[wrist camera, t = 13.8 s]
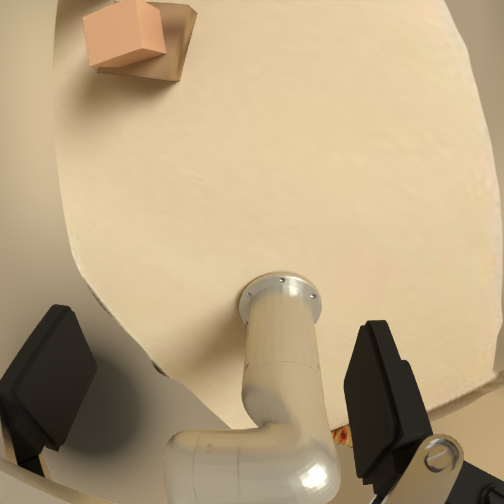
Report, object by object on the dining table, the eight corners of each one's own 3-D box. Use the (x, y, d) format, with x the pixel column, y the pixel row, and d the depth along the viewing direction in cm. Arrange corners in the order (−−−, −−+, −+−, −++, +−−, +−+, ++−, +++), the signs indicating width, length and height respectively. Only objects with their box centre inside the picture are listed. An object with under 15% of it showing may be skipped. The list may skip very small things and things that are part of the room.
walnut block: (180, 80, 34) (168, 80, 30) (115, 72, 34) (97, 72, 29) (198, 13, 30) (188, 4, 26) (131, 8, 29) (114, 1, 25)
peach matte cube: (159, 10, 26) (134, -4, 20) (166, 53, 28) (142, 48, 22) (114, 25, 26) (82, 17, 20) (120, 67, 29) (89, 66, 23)
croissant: (325, 426, 74) (329, 454, 69) (322, 426, 66) (326, 457, 61) (404, 409, 69) (408, 437, 65) (410, 407, 61) (415, 438, 57)
